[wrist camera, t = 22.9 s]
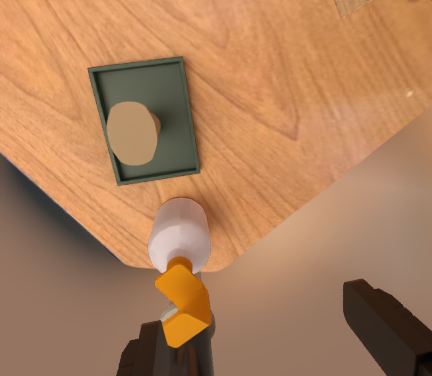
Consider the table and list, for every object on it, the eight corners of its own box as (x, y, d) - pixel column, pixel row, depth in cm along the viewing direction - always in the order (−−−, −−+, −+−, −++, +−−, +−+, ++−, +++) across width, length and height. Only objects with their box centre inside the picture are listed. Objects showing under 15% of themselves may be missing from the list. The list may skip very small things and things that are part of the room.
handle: (137, 145, 42) (113, 167, 28) (131, 103, 40) (101, 103, 26) (168, 143, 42) (160, 163, 28) (163, 101, 40) (152, 99, 26)
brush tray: (199, 169, 45) (200, 173, 42) (120, 181, 44) (117, 186, 42) (182, 58, 39) (182, 56, 37) (92, 69, 38) (87, 67, 36)
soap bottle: (183, 186, 45) (183, 273, 22) (216, 223, 48) (246, 335, 25) (144, 217, 46) (103, 333, 23) (178, 251, 49) (172, 386, 26)
